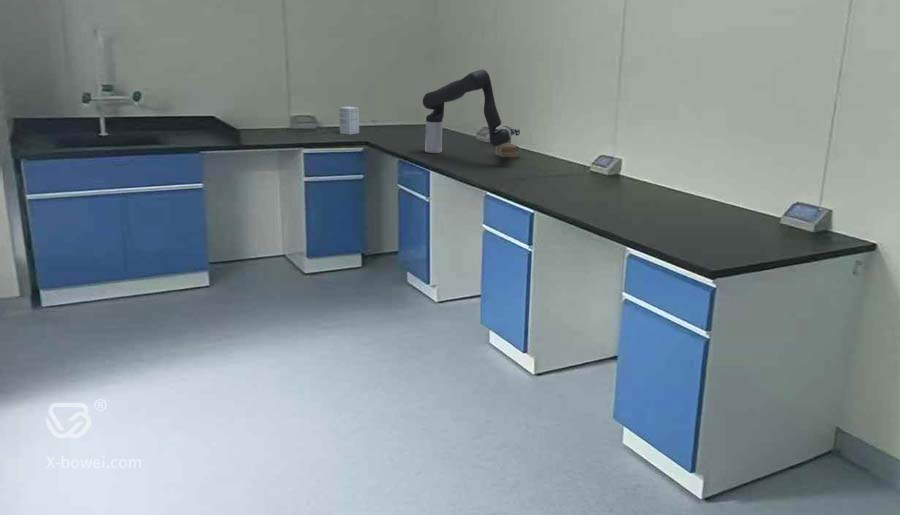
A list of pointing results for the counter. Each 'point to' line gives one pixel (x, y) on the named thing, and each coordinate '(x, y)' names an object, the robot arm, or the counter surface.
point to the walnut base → (507, 151)
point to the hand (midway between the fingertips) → (508, 130)
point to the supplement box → (349, 120)
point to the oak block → (508, 142)
